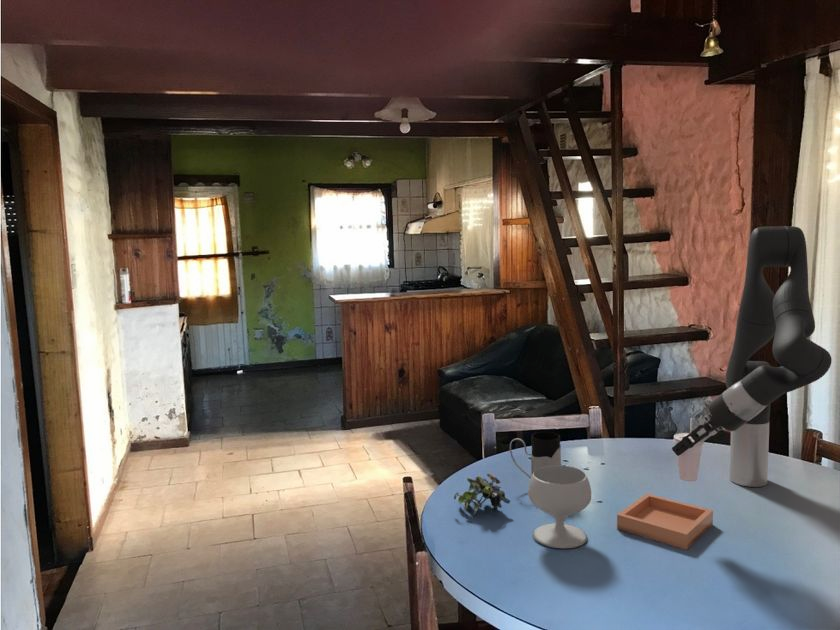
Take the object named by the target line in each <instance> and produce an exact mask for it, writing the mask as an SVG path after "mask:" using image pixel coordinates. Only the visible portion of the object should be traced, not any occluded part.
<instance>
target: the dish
mask: <svg viewBox="0 0 840 630" xmlns="http://www.w3.org/2000/svg"><path fill="white" fill-rule="evenodd" d="M713 525H714V510H713V509H708V508H705V507H702V506H697V505H694V504H689V503H686V502H682V501H678V500H673V499H671V498H666V497H661V496H658V495H655V494H650V493H645V494H644V495H643V496H641V497H640V498H638V499H637V500H635V501H634V502H633V503H631V504H630V505H628V506H627V507H626V508H624V509H622V510H621V511H620V512H618V513H617V514H616V530H619V529H620V530H619V531H622V530H623V532H625V531H627V532H626V533H629V532H631V533H630V534H632V533H634V534H633V535H635V534H637V535H636V536H639V535H641V536H640V537H642V536H643V538H645V537H647V538H646V539H649V538H650V540H652V539H653V541H655V540H656V541H655V542H659V543H662V544H665V543H666V544H665V545H668V544H669V546H671V547H676V548H679V549H682V550H685V551H687V550H688V549H689V548H690V547H691V546H692V545H693V544H694V543H695V542H697V541H698V539H700V537H702V536H703V535H704V534H705V533H706V532H707V531H708V530H709V529H710V528H711V527H712V526H713Z"/></svg>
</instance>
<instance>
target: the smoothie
mask: <svg viewBox="0 0 840 630" xmlns="http://www.w3.org/2000/svg"><path fill="white" fill-rule="evenodd" d="M689 421H690V425H689V426H690V427H689V430H690V431H689V432H680V433H679V432H678V433H675V434H674V435H673V442H674V443H675V444H674V446H675V445H676V444H677V443H679V442H680V441H681V440H682V439H683V437H685V436H687V435H688V434H689V433H691V429H692V428H694V418H693V417H690V420H689ZM688 438H690V440H691V441H692V442H693V443H694V440H693V439H692V437H688ZM704 444H705V441H703V442H698V443H696V444H695V445H694V447H692V448H690V449H687V450H686V451H685V452H683V453H682V454H681V455H679V456H677V455H676V459H677V461H676V462H677V468H678V476H679V479H680V480H681V481H684V482H692V483H693V482H697V480H698V475H699V469H700V463H701V456H702V451H703V445H704Z"/></svg>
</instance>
